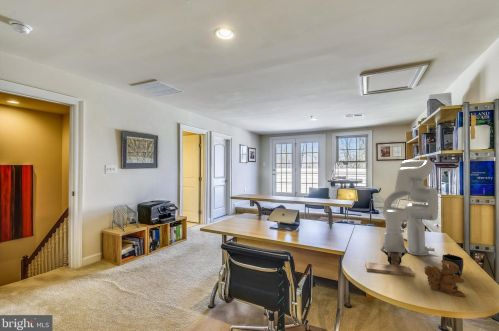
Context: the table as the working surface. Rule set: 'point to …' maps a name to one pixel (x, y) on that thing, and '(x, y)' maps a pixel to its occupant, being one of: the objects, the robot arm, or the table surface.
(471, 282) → the table surface
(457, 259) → the mug
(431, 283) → the stuffed squirrel
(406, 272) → the teak board
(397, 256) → the walnut gauge
